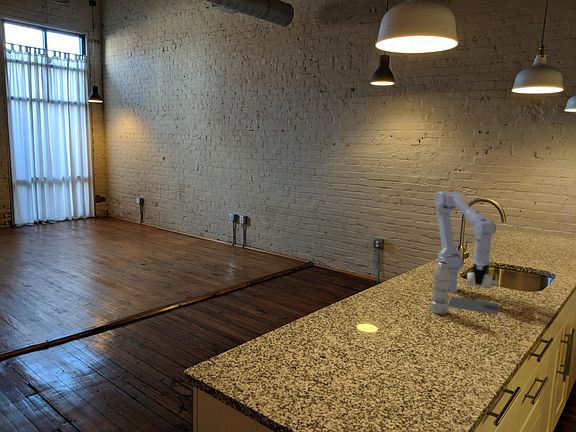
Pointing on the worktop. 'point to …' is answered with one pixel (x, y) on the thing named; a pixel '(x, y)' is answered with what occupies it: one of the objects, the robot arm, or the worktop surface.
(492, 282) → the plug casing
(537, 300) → the worktop surface
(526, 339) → the worktop surface
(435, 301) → the plastic bottle
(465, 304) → the rubber mat
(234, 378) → the worktop surface
